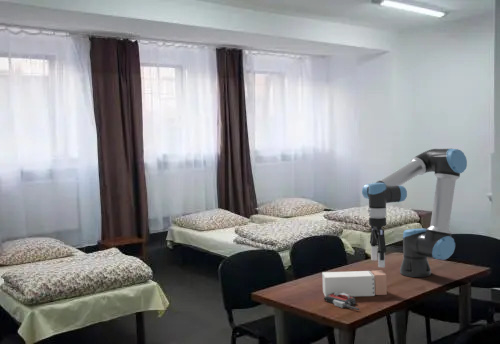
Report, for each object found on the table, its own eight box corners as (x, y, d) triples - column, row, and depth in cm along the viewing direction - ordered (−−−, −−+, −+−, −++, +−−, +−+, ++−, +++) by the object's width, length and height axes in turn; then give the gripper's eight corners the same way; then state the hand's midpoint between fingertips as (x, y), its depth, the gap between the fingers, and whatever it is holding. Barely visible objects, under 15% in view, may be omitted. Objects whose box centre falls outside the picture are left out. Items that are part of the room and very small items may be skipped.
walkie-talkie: (320, 302, 225) (357, 313, 210) (320, 292, 225) (357, 302, 209) (333, 298, 231) (370, 308, 215) (333, 288, 230) (370, 297, 215)
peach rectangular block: (382, 289, 239) (381, 270, 238) (386, 294, 231) (386, 274, 230) (371, 289, 239) (371, 270, 238) (375, 294, 231) (375, 275, 230)
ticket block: (370, 289, 239) (369, 270, 239) (374, 295, 230) (374, 275, 230) (322, 291, 239) (322, 272, 239) (325, 297, 230) (325, 277, 230)
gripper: (363, 213, 245) (363, 257, 246) (375, 221, 220) (376, 270, 221) (379, 213, 245) (379, 257, 246) (393, 221, 220) (393, 270, 221)
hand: (377, 263), depth 234 cm, fingers open, 13 cm apart
